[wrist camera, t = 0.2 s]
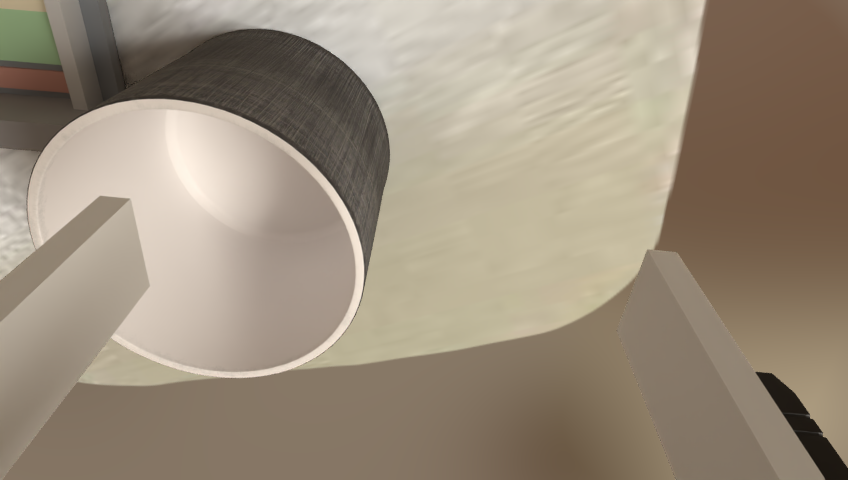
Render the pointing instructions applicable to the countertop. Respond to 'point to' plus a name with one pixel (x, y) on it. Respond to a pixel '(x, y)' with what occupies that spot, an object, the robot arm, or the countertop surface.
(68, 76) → the gauge base
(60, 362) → the robot arm
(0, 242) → the countertop surface
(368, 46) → the countertop surface
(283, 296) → the planter
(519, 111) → the countertop surface
